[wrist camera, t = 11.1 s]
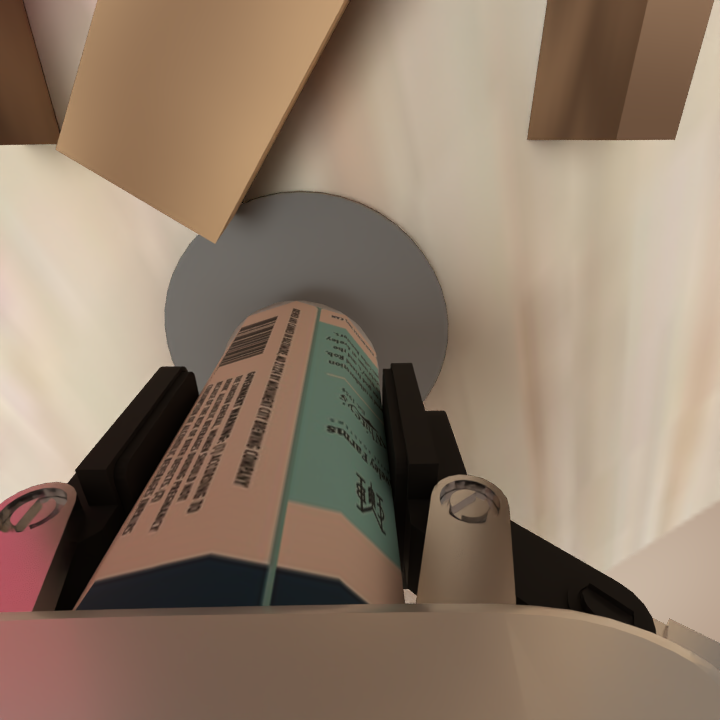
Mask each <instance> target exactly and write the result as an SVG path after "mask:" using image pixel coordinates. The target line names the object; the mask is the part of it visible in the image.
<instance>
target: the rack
mask: <svg viewBox="0 0 720 720" xmlns="http://www.w3.org/2000/svg"><path fill="white" fill-rule="evenodd" d="M713 2H714V0H548V1H547V8H546V15H545V22H544V29H543V36H542V43H541V49H540V56H539V63H538V70H537V77H536V84H535V90H534V97H533V104H532V111H531V118H530V125H529V131H528V138H527V140H675V137H676V134H677V130H678V127H679V123H680V120H681V116H682V113H683V109H684V105H685V102H686V98H687V95H688V91H689V88H690V84H691V81H692V77H693V73H694V70H695V66H696V63H697V59H698V56H699V52H700V49H701V45H702V41H703V38H704V34H705V31H706V27H707V24H708V20H709V17H710V13H711V10H712V6H713ZM59 136H60V132H59V129H58V125H57V122H56V118H55V115H54V111H53V107H52V104H51V100H50V97H49V93H48V90H47V86H46V83H45V79H44V75H43V72H42V68H41V65H40V61H39V58H38V54H37V50H36V47H35V43H34V40H33V36H32V33H31V29H30V26H29V22H28V18H27V15H26V11H25V8H24V4H23V1H22V0H0V145H26V144H57V143H58V139H59Z"/></svg>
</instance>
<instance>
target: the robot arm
mask: <svg viewBox="0 0 720 720" xmlns="http://www.w3.org/2000/svg"><path fill="white" fill-rule="evenodd" d="M198 397H199V392H198V387H197V382H196V378H195V374H194V373H193V372H188V370H187V368H186V367H185V366H174V367H161V368H159V370H158V371H157V372H156V373H155V374H154V376H153V377H152V378H151V379H150V380H149V382H148V383H147V384H146V385H145V386H144V388H143V389H142V390H141V391H140V392H139V394H138V395H137V396H136V397H135V398H134V400H133V401H132V402H131V403H130V404H129V406H128V407H127V408H126V409H125V410H124V412H123V413H122V414H121V415H120V417H119V418H118V419H117V420H116V421H115V423H114V424H113V425H112V426H111V427H110V429H109V430H108V431H107V432H106V433H105V435H104V436H103V437H102V438H101V439H100V441H99V442H98V443H97V444H96V445H95V447H94V448H93V449H92V450H91V451H90V453H89V454H88V455H87V456H86V457H85V459H84V460H83V461H82V462H81V464H80V465H79V466H78V467H77V468H76V470H75V471H76V474H75V475H74V476H73V477H72V478H71V480H70V481H69V482H68V483H61V482H52V483H44V484H40V485H36V486H32V487H30V488H27V489H25V490H23V491H20V492H18V493H16V494H15V495H13V496H11V497H9V498H8V499H6V500H5V501H4V502H2V503H1V504H0V720H720V643H718V642H716V641H714V640H712V639H710V638H708V637H706V636H704V635H702V634H700V633H698V632H696V631H694V630H692V629H690V628H688V627H686V626H684V625H682V624H680V623H677V622H676V621H674V620H672V619H669V620H668V622H667V624H666V625H665V624H664V623H662V622H660V621H658V620H656V619H654V618H652V616H651V615H650V613H649V611H648V610H647V608H646V607H645V605H644V604H643V603H642V602H641V601H640V600H639V599H638V597H636V595H634V593H633V592H631V591H630V590H628V589H627V588H626V587H624V586H623V585H622V584H620V583H619V582H617V581H615V580H614V579H612V578H610V577H608V576H607V575H605V574H603V573H601V572H600V571H598V570H596V569H594V568H593V567H591V566H589V565H587V564H586V563H584V562H582V561H581V560H579V559H577V558H575V557H574V556H572V555H570V554H568V553H567V552H565V551H563V550H561V549H560V548H558V547H556V546H554V545H553V544H551V543H549V542H547V541H546V540H544V539H542V538H541V537H539V536H537V535H535V534H534V533H532V532H530V531H528V530H527V529H525V528H523V527H521V526H520V525H518V524H516V523H514V522H513V521H511V520H510V511H509V505H508V501H507V498H506V497H505V495H504V494H503V492H502V491H501V490H500V489H499V488H498V487H496V486H495V485H494V484H493V483H491V482H489V481H487V480H485V479H483V478H480V477H476V476H472V475H467V472H466V470H465V467H464V464H463V461H462V458H461V455H460V452H459V449H458V446H457V443H456V440H455V438H454V435H453V432H452V429H451V426H450V423H449V420H448V417H447V414H446V412H445V411H425V409H424V405H423V402H422V398H421V394H420V390H419V387H418V383H417V379H416V376H415V372H414V368H413V364H412V363H391V365H390V369H383V376H382V410H383V419H384V428H385V436H386V445H387V453H388V462H389V471H390V479H391V488H392V497H393V505H394V514H395V522H396V531H397V540H398V548H399V557H400V566H401V574H402V583H403V589H409V590H411V591H412V592H413V593H414V594H416V595H417V598H416V604H350V605H289V606H238V607H191V608H148V609H105V610H73V608H74V606H75V605H76V603H77V601H78V600H79V598H80V596H81V595H82V593H83V591H84V590H85V588H86V586H87V584H88V583H89V581H90V579H91V578H92V576H93V574H94V573H95V571H96V569H97V568H98V566H99V564H100V562H101V561H102V559H103V557H104V556H105V554H106V552H107V551H108V549H109V547H110V546H111V544H112V542H113V540H114V539H115V537H116V535H117V534H118V532H119V530H120V529H121V527H122V525H123V524H124V522H125V520H126V518H127V517H128V515H129V513H130V512H131V510H132V508H133V507H134V505H135V503H136V502H137V500H138V498H139V496H140V495H141V493H142V491H143V490H144V488H145V486H146V485H147V483H148V481H149V480H150V478H151V476H152V474H153V473H154V471H155V469H156V468H157V466H158V464H159V463H160V461H161V459H162V458H163V456H164V454H165V452H166V451H167V449H168V447H169V446H170V444H171V442H172V441H173V439H174V437H175V436H176V434H177V432H178V430H179V429H180V427H181V425H182V424H183V422H184V420H185V419H186V417H187V415H188V414H189V412H190V410H191V408H192V407H193V405H194V403H195V402H196V400H197V398H198Z"/></svg>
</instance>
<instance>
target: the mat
mask: <svg viewBox="0 0 720 720" xmlns="http://www.w3.org/2000/svg"><path fill="white" fill-rule="evenodd" d="M284 301H309V302H314V303H319V304H324V305H326V306H328V307H331V308H333V309H335V310H338V311H340V312H342V313H343V314H345V315H346V316H347V317H349V318H350V319H351V320H353V321H354V322H355V323H356V324H358V325H359V326H360V327H361V329H362V330H363V332H364V333H365V334H366V336H367V337H368V339H369V340H370V341H371V343H372V345H373V347H374V350H375V352H376V356H377V361H378V367H379V373H378V376H379V384H380V393H381V402H382V376H383V369H390V365H391V363H412V364H413V368H414V372H415V376H416V379H417V383H418V387H419V390H420V394H421V398H422V402H423V401H424V400H425V399H426V397H427V396H428V394H429V392H430V391H431V389H432V388H433V386H434V384H435V382H436V380H437V378H438V375H439V373H440V371H441V368H442V364H443V361H444V358H445V353H446V347H447V341H448V319H447V311H446V304H445V301H444V297H443V293H442V290H441V287H440V285H439V282H438V280H437V278H436V275H435V273H434V271H433V269H432V268H431V266H430V264H429V263H428V261H427V260H426V258H425V256H424V255H423V253H422V252H421V250H420V249H419V248H418V247H417V245H416V244H415V243H414V242H413V241H412V239H411V238H410V237H409V236H408V235H407V234H406V233H405V232H403V231H402V230H401V229H400V228H399V227H398V226H397V225H396V224H395V223H393V222H392V221H390V220H389V219H387V218H386V217H385V216H383V215H382V214H380V213H379V212H377V211H375V210H373V209H371V208H369V207H367V206H365V205H363V204H361V203H358V202H356V201H353V200H350V199H347V198H344V197H341V196H336V195H331V194H326V193H321V192H305V191H296V192H284V193H276V194H272V195H268V196H263V197H259V198H256V199H254V200H251V201H249V202H246V203H243V204H241V205H240V207H239V208H238V210H237V212H236V214H235V216H234V217H233V218H232V220H231V221H230V223H229V224H228V226H227V227H226V229H225V230H224V232H223V233H222V235H221V236H220V238H219V239H218V241H217V242H216V243H215V244H214V243H213V242H211V241H209V240H208V239H206V238H204V237H203V236H201V235H198V236H197V237H196V238H195V239H194V240H193V241H192V242H191V243H190V245H189V246H188V248H187V249H186V251H185V252H184V254H183V255H182V256H181V258H180V260H179V262H178V264H177V266H176V268H175V270H174V272H173V274H172V278H171V281H170V284H169V288H168V291H167V297H166V304H165V331H166V338H167V344H168V347H169V351H170V354H171V357H172V361H173V363H174V365H175V366H185V367H186V368H187V370H188V372H193V373H194V374H195V378H196V382H197V387H198V392H199V395H200V393H201V392H202V390H203V388H204V386H205V385H206V383H207V381H208V380H209V378H210V376H211V375H212V373H213V371H214V370H215V368H216V366H217V364H218V363H219V361H220V359H221V358H222V356H223V354H224V352H225V349H226V346H227V343H228V341H229V339H230V338H231V336H232V334H233V333H234V331H235V329H236V328H237V327H238V326H239V325H240V324H241V323H242V322H243V321H244V320H245V319H246V318H247V317H248V316H250V315H251V314H253V313H254V312H256V311H257V310H259V309H262V308H265V307H267V306H270V305H272V304H275V303H279V302H284Z"/></svg>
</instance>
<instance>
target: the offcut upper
mask: <svg viewBox="0 0 720 720" xmlns="http://www.w3.org/2000/svg"><path fill="white" fill-rule="evenodd" d="M349 2H350V0H97V4H96V8H95V11H94V15H93V18H92V22H91V25H90V29H89V32H88V36H87V40H86V43H85V47H84V50H83V54H82V57H81V61H80V65H79V68H78V72H77V75H76V79H75V82H74V86H73V89H72V93H71V97H70V100H69V104H68V107H67V111H66V114H65V118H64V122H63V125H62V129H61V132H60V136H59V139H58V143H57V146H56V150H57V151H59V152H61V153H62V154H64V155H66V156H67V157H69V158H71V159H73V160H74V161H76V162H78V163H79V164H81V165H83V166H84V167H86V168H88V169H89V170H91V171H93V172H95V173H96V174H98V175H100V176H101V177H103V178H105V179H106V180H108V181H110V182H111V183H113V184H115V185H116V186H118V187H120V188H122V189H123V190H125V191H127V192H128V193H130V194H132V195H133V196H135V197H137V198H138V199H140V200H142V201H144V202H145V203H147V204H149V205H150V206H152V207H154V208H155V209H157V210H159V211H160V212H162V213H164V214H165V215H167V216H169V217H171V218H172V219H174V220H176V221H177V222H179V223H181V224H182V225H184V226H186V227H187V228H189V229H191V230H193V231H194V232H196V233H198V234H199V235H201V236H203V237H204V238H206V239H208V240H209V241H211V242H213V243H214V244H215V243H216V242H217V241H218V239H219V238H220V236H221V235H222V233H223V232H224V230H225V229H226V227H227V226H228V224H229V223H230V221H231V220H232V218H233V217H234V216H235V214H236V212H237V210H238V208H239V207H240V205H241V203H242V201H243V199H244V197H245V195H246V193H247V192H248V190H249V188H250V186H251V184H252V182H253V180H254V179H255V177H256V175H257V173H258V171H259V169H260V167H261V166H262V164H263V162H264V160H265V158H266V156H267V154H268V152H269V151H270V149H271V147H272V145H273V143H274V141H275V139H276V138H277V136H278V134H279V132H280V130H281V128H282V126H283V125H284V123H285V121H286V119H287V117H288V115H289V113H290V111H291V110H292V108H293V106H294V104H295V102H296V100H297V98H298V97H299V95H300V93H301V91H302V89H303V87H304V85H305V84H306V82H307V80H308V78H309V76H310V74H311V72H312V70H313V69H314V67H315V65H316V63H317V61H318V59H319V57H320V56H321V54H322V52H323V50H324V48H325V46H326V44H327V43H328V41H329V39H330V37H331V35H332V33H333V31H334V29H335V28H336V26H337V24H338V22H339V20H340V18H341V16H342V15H343V13H344V11H345V9H346V7H347V5H348V3H349Z"/></svg>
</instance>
